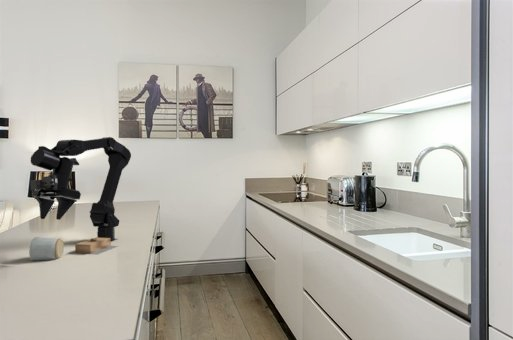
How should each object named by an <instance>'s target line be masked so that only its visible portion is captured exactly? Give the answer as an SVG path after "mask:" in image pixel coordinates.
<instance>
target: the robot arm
mask: <svg viewBox="0 0 513 340" xmlns="http://www.w3.org/2000/svg"><path fill="white" fill-rule="evenodd" d="M98 149H103V152H104V153H105V155H106V156H107V158H108V159H107V161H108V165H109V168H108V173H107V176H106V179H105V182H104V185H103V189H102V191H101V195H100V198H99V200H98V201H97V202H93V203H92V204H91V208H90V210H89V219H90V220H91V223H92V225H93V227H95V228H96V227H97V233H96V235H97V238H111V242H114V241H117V240H118V238H116V236H115V233H116V232H115V228H116V227H119V225H120V220H119V218H118V217H117V216H116V215H115V211H116V210H115V209H116V208H115V206H114V200H115V197H116V193H117V190H118V187H119V182H120V179H121V175H122V173H123V170H124V169H125V168H126V167H127V166H128V165H129V163H130V160H131V159H132V158H131V157H132V154H131V152H130V149H128V148H127V147H126V146H125V145H123V144H122V143H120V142H118V141H117V140H116V139H115V138H114V137H111V136H108V137H107V136H106V137H105V136H104V137H101V138H95V139H86V140H83V139H60V140H58V141H57V143H56V145H55V146H54V147H52V148H51V149H50V148H48V147H47V146H44V145H41V146H38V149H36V150H35V151H34V152H32V155H31V156H30V163H31V165H32V166H34V167H37V168H40V169H43V170H47V171H52V173H51V174H48V175H47V176H42V177H41V179H32V180H30V190H31V191H33V192H32V197H33V198H34V200H36V201H37V202H38V204H39V205H38V206H39V217H40V219H41V220H45V218H46V217H47V216H48V214H49V212H50V211H51V208H52V207H53V205H54V204H55V199H56V202H57V210H56V218H55V219H56V221H57V220H58V221H59V220H61V219H62V218H63V217H64V215H65V214H66V213H67V212H68V210H69V209H70V208H71V207H72V206H73V205H74V204H75V203H77V202H78V200H81V195H82V193H81V192H80V190H77V189H72V188H70V187H69V184H70V183H72V182H73V180H74V179H73V178H72V177H71V175H72V172H73V168H74V166H80V162H79V161H78V160H77V158H76V156H80V155H81V154H82V155H83V153H85V152H87V151H92V150H98ZM74 156H75V157H74ZM69 157H71V158H69Z"/></svg>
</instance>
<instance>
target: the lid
mask: <svg viewBox="0 0 513 340" xmlns="http://www.w3.org/2000/svg"><path fill="white" fill-rule="evenodd" d="M111 242H112V241H111V238H97V237H92V238H90V239H88V240H85V241H81V242H78V243H75V245H74V246H75V247H74V248H75V249H74V250H75V253H74V254H76V253H87V254H86V255H92V254H91V253H94V252H96V251H99V250H102V249H104V248H107V247H110V246H112V243H111Z"/></svg>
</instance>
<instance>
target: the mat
mask: <svg viewBox="0 0 513 340" xmlns="http://www.w3.org/2000/svg"><path fill="white" fill-rule="evenodd" d="M117 247H119V245H111V246H110V247H107V248H104V249H102V250H99V251H96V252H94V253H91V254H90V255H100V254H103V253H105V252H108V251H109V250H112V249H116V248H117ZM67 254H76V255H77V254H78V255H79V254H80V255H88V254H87V253H75V249H74V250H72V251H69V252H67Z"/></svg>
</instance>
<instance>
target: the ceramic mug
mask: <svg viewBox="0 0 513 340" xmlns="http://www.w3.org/2000/svg"><path fill="white" fill-rule="evenodd" d="M64 244H65V243H64V240H63V239H62V238H60V237H47V236H46V237H44V236H35V237H33V239H32V240H31V242H30V245H29V258H30V260H31V261H32V262H33V261H50V260H51V261H52V260H58V259H61V258H62V256H63V254H64V248H65V246H64Z"/></svg>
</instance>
